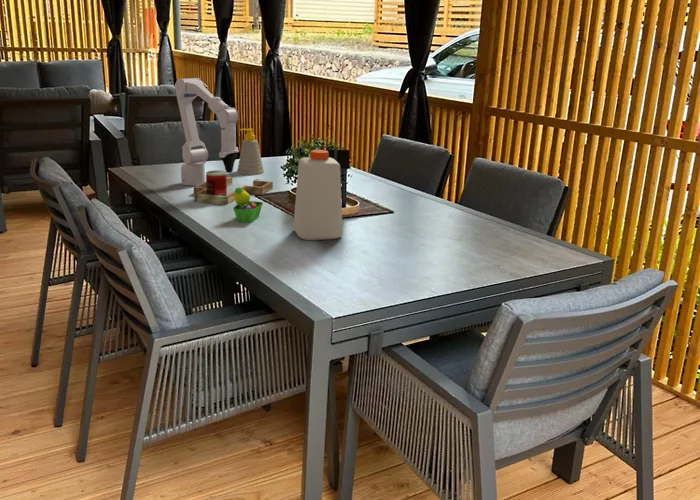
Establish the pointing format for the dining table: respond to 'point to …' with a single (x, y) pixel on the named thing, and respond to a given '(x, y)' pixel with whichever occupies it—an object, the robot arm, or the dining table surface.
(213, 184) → the canned food
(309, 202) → the plastic bottle
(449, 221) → the dining table surface
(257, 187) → the trap channel
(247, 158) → the soap bottle
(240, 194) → the fruit basket
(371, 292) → the dining table surface
